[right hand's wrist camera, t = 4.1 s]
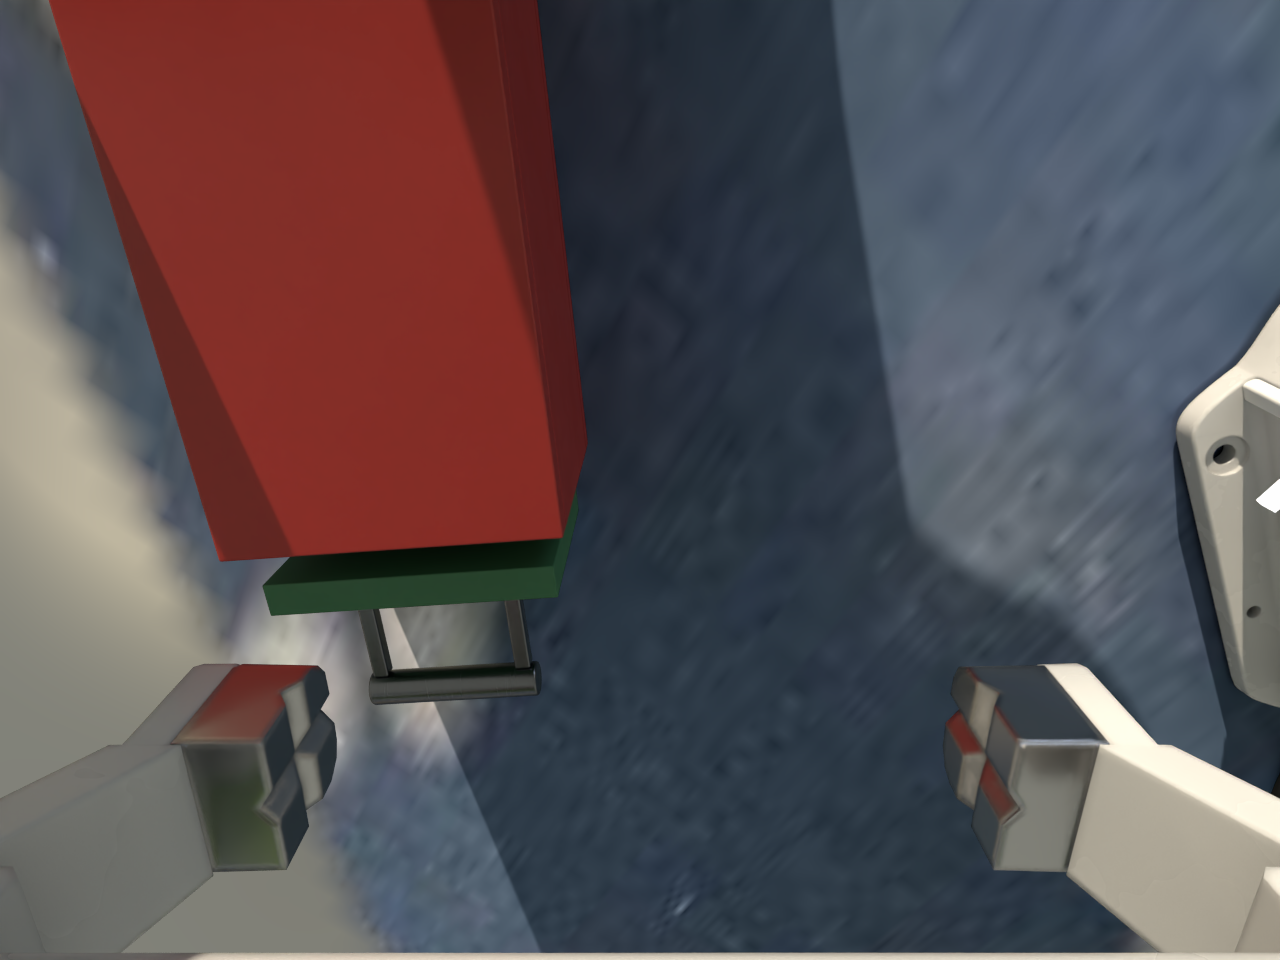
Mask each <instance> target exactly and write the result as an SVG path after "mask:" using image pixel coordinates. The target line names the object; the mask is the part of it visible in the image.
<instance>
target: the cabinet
mask: <svg viewBox="0 0 1280 960" xmlns="http://www.w3.org/2000/svg"><path fill="white" fill-rule="evenodd" d="M49 3H50V6H51V9H52V12H53V16H54V19H55V22H56V26H57V29H58V32H59V35H60V39H61V42H62V45H63V49H64V52H65V55H66V58H67V62H68V65H69V68H70V72H71V75H72V78H73V81H74V85H75V88H76V91H77V95H78V98H79V101H80V104H81V108H82V111H83V114H84V118H85V121H86V124H87V127H88V131H89V134H90V137H91V141H92V144H93V147H94V150H95V154H96V157H97V160H98V164H99V167H100V170H101V173H102V177H103V180H104V183H105V186H106V190H107V193H108V196H109V200H110V203H111V206H112V209H113V213H114V216H115V219H116V223H117V226H118V229H119V232H120V236H121V239H122V242H123V246H124V249H125V252H126V255H127V259H128V262H129V265H130V269H131V272H132V275H133V278H134V282H135V285H136V288H137V292H138V295H139V298H140V301H141V305H142V308H143V311H144V315H145V318H146V321H147V324H148V328H149V331H150V334H151V338H152V341H153V344H154V347H155V351H156V354H157V357H158V361H159V364H160V367H161V370H162V374H163V377H164V380H165V384H166V387H167V390H168V393H169V397H170V400H171V403H172V407H173V410H174V413H175V416H176V420H177V423H178V426H179V430H180V433H181V436H182V439H183V443H184V446H185V449H186V453H187V456H188V459H189V462H190V466H191V469H192V472H193V476H194V479H195V482H196V485H197V489H198V492H199V495H200V499H201V502H202V505H203V508H204V512H205V515H206V518H207V521H208V525H209V528H210V531H211V535H212V538H213V541H214V544H215V548H216V551H217V554H218V558H219V560H220V561H236V560H251V559H265V558H280V557H294V556H309V555H324V554H338V553H353V552H368V551H382V550H397V549H411V548H426V547H441V546H455V545H470V544H484V543H499V542H514V541H528V540H543V539H557V538H563V535H564V532H565V528H566V524H567V521H568V517H569V513H570V509H571V505H572V502H573V498H574V494H575V490H576V486H577V483H578V479H579V475H580V471H581V467H582V464H583V460H584V456H585V452H586V448H587V444H588V442H587V433H586V424H585V415H584V407H583V398H582V389H581V380H580V372H579V363H578V354H577V345H576V337H575V328H574V319H573V310H572V302H571V293H570V284H569V275H568V267H567V258H566V249H565V240H564V232H563V223H562V214H561V205H560V197H559V188H558V179H557V170H556V162H555V153H554V144H553V135H552V127H551V118H550V109H549V100H548V92H547V83H546V74H545V65H544V57H543V48H542V39H541V30H540V22H539V13H538V4H537V0H49Z"/></svg>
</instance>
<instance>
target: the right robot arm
mask: <svg viewBox="0 0 1280 960" xmlns="http://www.w3.org/2000/svg"><path fill="white" fill-rule="evenodd" d="M1176 438H1177V443H1178V448H1179V452H1180V456H1181V461H1182V465H1183V469H1184V474H1185V478H1186V483H1187V487H1188V491H1189V496H1190V500H1191V504H1192V509H1193V513H1194V517H1195V522H1196V526H1197V531H1198V535H1199V539H1200V544H1201V548H1202V552H1203V557H1204V561H1205V566H1206V570H1207V574H1208V579H1209V583H1210V587H1211V592H1212V596H1213V600H1214V605H1215V609H1216V614H1217V618H1218V622H1219V627H1220V631H1221V635H1222V640H1223V644H1224V649H1225V653H1226V657H1227V661H1228V666H1229V670H1230V674H1231V677H1232V680H1233V682H1234V685H1235V686H1236V687H1237V688H1238V689H1239V690H1241V691H1242V692H1243V693H1245V694H1246V695H1248V696H1249V697H1251V698H1252V699H1254V700H1257V701H1260V702H1263V703H1266V704H1269V705H1272V706H1276V707H1280V305H1279V306H1278V307H1277V309H1276V310H1275V312H1274V313H1273V314H1272V316H1271V317H1270V319H1269V320H1268V322H1267V323H1266V325H1265V326H1264V328H1263V329H1262V331H1261V332H1260V334H1259V335H1258V337H1257V338H1256V340H1255V341H1254V343H1253V344H1252V346H1251V347H1250V349H1249V350H1248V351H1247V353H1246V354H1245V355H1244V356H1243V358H1242V359H1241V360H1240V361H1239V362H1238V363H1237V365H1236V366H1235V367H1233V368H1232V369H1231V370H1229V371H1228V372H1227V373H1225V374H1224V375H1223V376H1222V377H1220V378H1219V379H1218V380H1216V381H1215V382H1214V383H1213V384H1211V385H1210V386H1209V387H1208V388H1206V389H1205V390H1204V391H1203V392H1202V393H1201V394H1199V395H1198V396H1197V397H1196V398H1195V399H1194V400H1193V401H1192V402H1191V403H1190V404H1189V405H1188V406H1187V407H1186V409H1185V410H1184V411H1183V412H1182V414H1181V415H1180V417H1179V420H1178V422H1177V426H1176ZM1222 445H1224V447H1223V451H1222V452H1221V454H1220V455H1219V456H1217V457H1215V458H1213V454H1214V452H1215V450H1216V449H1217V448H1218V447H1220V446H1222ZM328 696H329V690H328V685H327V680H326V675H325V672H324V671H323V670H322V669H321V668H320V667H319V666H312V665H264V664H242V665H239V664H203V665H199V666H196V667H193V668H192V669H191V670H190V671H189V673H188V674H187V675H186V676H185V677H184V678H183V679H182V680H181V681H180V682H179V683H178V685H177V686H176V687H175V688H174V689H173V690H172V691H171V692H170V693H169V694H168V695H167V697H166V698H165V699H164V700H163V701H162V702H161V703H160V704H159V705H158V706H157V707H156V709H155V710H154V711H153V712H152V713H151V714H150V715H149V716H148V717H147V718H146V719H145V721H144V722H143V723H142V724H141V725H140V726H139V727H138V728H137V729H136V730H135V732H134V733H133V734H132V735H131V736H130V737H129V738H128V739H127V740H126V741H125V742H124V744H123V745H108V746H106V747H104V748H102V749H100V750H98V751H96V752H94V753H92V754H90V755H88V756H86V757H84V758H82V759H80V760H78V761H76V762H74V763H72V764H70V765H67V766H66V767H63V768H61V769H59V770H57V771H55V772H53V773H51V774H49V775H47V776H45V777H43V778H41V779H39V780H37V781H35V782H33V783H31V784H29V785H27V786H25V787H23V788H21V789H19V790H16V791H14V792H12V793H10V794H8V795H6V796H4V797H2V798H0V960H1280V774H1279V776H1278V778H1277V781H1276V783H1275V786H1274V788H1273V790H1272V793H1271V794H1269V793H1267V792H1265V791H1263V790H1261V789H1259V788H1257V787H1255V786H1253V785H1251V784H1249V783H1247V782H1245V781H1243V780H1241V779H1239V778H1237V777H1235V776H1233V775H1231V774H1229V773H1227V772H1225V771H1223V770H1221V769H1219V768H1217V767H1214V766H1212V765H1210V764H1208V763H1206V762H1204V761H1202V760H1200V759H1198V758H1196V757H1194V756H1192V755H1190V754H1188V753H1186V752H1184V751H1182V750H1180V749H1178V748H1176V747H1174V746H1172V745H1157V744H1156V742H1155V741H1154V740H1153V739H1152V738H1151V737H1150V736H1149V735H1148V734H1147V733H1146V732H1145V730H1144V729H1143V728H1142V727H1141V726H1140V725H1139V724H1138V723H1137V722H1136V721H1135V719H1134V718H1133V717H1132V716H1131V715H1130V714H1129V713H1128V712H1127V711H1126V710H1125V709H1124V707H1123V706H1122V705H1121V704H1120V703H1119V702H1118V701H1117V700H1116V699H1115V698H1114V697H1113V695H1112V694H1111V693H1110V692H1109V691H1108V690H1107V689H1106V688H1105V687H1104V686H1103V684H1102V683H1101V682H1100V681H1099V680H1098V679H1097V678H1096V677H1095V676H1094V675H1093V674H1092V672H1091V671H1090V670H1089V669H1088V668H1086V667H1084V666H1082V665H1080V664H1078V663H1072V664H1042V665H1030V666H972V667H959V668H958V670H957V672H956V674H955V676H954V678H953V683H952V689H951V696H952V697H953V699H954V701H955V703H956V704H957V706H958V708H959V710H958V711H957V712H956V713H955V714H954V715H953V716H952V717H951V718H950V719H949V720H948V721H947V722H946V724H945V732H944V740H943V752H944V763H945V769H946V773H947V776H948V780H949V783H950V785H951V787H952V789H953V791H954V793H955V795H956V797H957V799H958V800H960V801H961V802H963V803H964V804H966V805H967V806H968V807H970V808H971V809H973V810H974V812H973V818H972V823H971V827H972V829H973V831H974V833H975V835H976V837H977V839H978V841H979V843H980V844H981V846H982V848H983V850H984V852H985V854H986V856H987V858H988V860H989V862H990V864H991V866H992V868H993V870H1015V871H1050V872H1067V876H1068V877H1069V878H1070V879H1071V880H1073V881H1074V882H1075V883H1076V884H1077V885H1079V886H1080V887H1081V888H1082V889H1083V890H1085V891H1086V892H1087V893H1088V894H1089V895H1091V896H1092V897H1093V898H1094V899H1095V900H1097V901H1098V902H1099V903H1100V904H1101V905H1103V906H1104V907H1105V908H1106V909H1107V910H1109V911H1110V912H1111V913H1112V914H1113V915H1115V916H1116V917H1117V918H1118V919H1119V920H1121V921H1122V922H1123V923H1124V924H1125V925H1127V926H1128V927H1129V928H1130V929H1131V930H1133V931H1134V932H1135V933H1136V934H1137V935H1139V936H1140V937H1141V938H1142V939H1143V940H1145V941H1146V942H1147V943H1148V944H1149V945H1151V946H1152V947H1153V948H1154V949H1155V950H1157V951H1158V952H1159V953H121V952H122V951H123V950H125V949H126V948H127V947H128V946H130V945H131V944H132V943H133V942H134V941H136V940H137V939H138V938H139V937H140V936H142V935H143V934H144V933H145V932H146V931H148V930H149V929H150V928H151V927H152V926H154V925H155V924H156V923H157V922H158V921H160V920H161V919H162V918H163V917H164V916H166V915H167V914H168V913H169V912H170V911H172V910H173V909H174V908H175V907H176V906H178V905H179V904H180V903H181V902H183V901H184V900H185V899H186V898H187V897H189V896H190V895H191V894H192V893H193V892H195V891H196V890H197V889H198V888H199V887H201V886H202V885H203V884H204V883H205V882H207V881H208V880H209V879H210V878H211V877H213V872H229V871H264V870H287V868H288V866H289V864H290V862H291V860H292V858H293V856H294V854H295V852H296V850H297V848H298V846H299V845H300V843H301V841H302V839H303V837H304V835H305V833H306V831H307V829H308V827H309V824H308V818H307V812H306V810H307V809H309V808H310V807H312V806H313V805H314V804H316V803H317V802H319V801H320V800H322V799H323V797H324V795H325V793H326V791H327V789H328V787H329V785H330V783H331V780H332V776H333V772H334V767H335V763H336V758H337V738H336V731H335V724H334V722H333V721H332V720H331V719H330V718H329V717H328V716H327V715H326V714H325V713H324V712H323V711H322V710H321V708H322V706H323V704H324V703H325V701H326V699H327V697H328Z"/></svg>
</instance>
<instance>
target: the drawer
mask: <svg viewBox="0 0 1280 960" xmlns="http://www.w3.org/2000/svg"><path fill="white" fill-rule="evenodd" d="M578 510H579V509H578V501H577V493H576V490H575V494H574V498H573V502H572V505H571V509H570V513H569V517H568V521H567V524H566V528H565V532H564V535H563V538H557V539H543V540H528V541H514V542H499V543H484V544H470V545H455V546H441V547H426V548H411V549H397V550H382V551H368V552H353V553H338V554H324V555H309V556H294V557H290V558H289V559H288V560H287V561H286V562H285V563H284V564H283V565H282V566H281V567H280V568H279V569H278V570H277V571H276V572H275V573H274V574H273V575H272V576H271V577H270V578H269V580H268V581H267V582H266V583H265V584H264V585H263V589H264V593H265V596H266V600H267V603H268V607H269V610H270V614H271V616H275V615H291V614H306V613H321V612H337V611H352V610H358V612H359V616H360V620H361V624H362V628H363V633H364V637H365V641H366V645H367V649H368V653H369V657H370V662H371V666H372V670H373V674H372V675H371V678H370V682H369V696H370V700H371V702H372V703H373V704H375V705H382V704H399V703H416V702H433V701H451V700H468V699H485V698H502V697H519V696H536V695H539V694H540V691H541V684H542V676H541V668H540V664H539V662H538V661H532V655H531V648H530V642H529V635H528V629H527V623H526V616H525V610H524V603H523V599H538V598H553V597H558V594H559V590H560V586H561V582H562V577H563V573H564V569H565V565H566V561H567V556H568V552H569V548H570V544H571V540H572V535H573V531H574V527H575V523H576V519H577V515H578ZM491 601H504V602H505V608H506V614H507V620H508V626H509V632H510V638H511V644H512V650H513V656H514V662H511V663H494V664H478V665H461V666H445V667H428V668H412V669H395V670H392V663H391V659H390V654H389V650H388V646H387V641H386V637H385V633H384V628H383V624H382V620H381V615H380V611H379V609H383V608H399V607H414V606H430V605H445V604H461V603H476V602H491Z"/></svg>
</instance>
